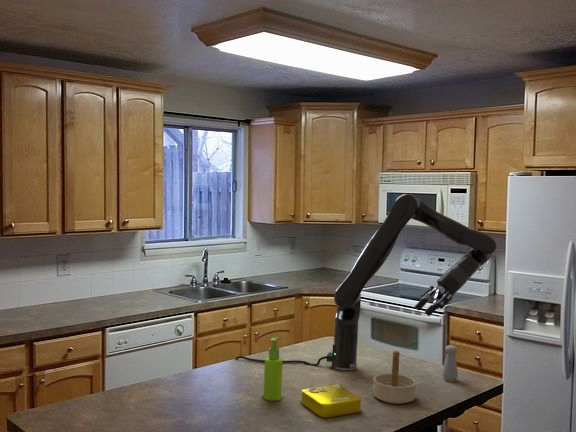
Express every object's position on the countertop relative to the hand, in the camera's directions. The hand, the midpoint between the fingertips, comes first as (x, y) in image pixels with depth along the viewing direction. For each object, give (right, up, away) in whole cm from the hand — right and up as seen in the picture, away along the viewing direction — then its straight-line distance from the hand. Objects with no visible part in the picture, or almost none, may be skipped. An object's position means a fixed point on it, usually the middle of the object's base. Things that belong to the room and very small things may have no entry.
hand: (421, 311), depth 206 cm
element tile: (-33, -28, -17) cm, 47 cm away
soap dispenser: (-52, -27, -10) cm, 60 cm away
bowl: (-11, -28, -6) cm, 31 cm away
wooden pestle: (-11, -28, -6) cm, 30 cm away
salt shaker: (+14, -28, +14) cm, 35 cm away
